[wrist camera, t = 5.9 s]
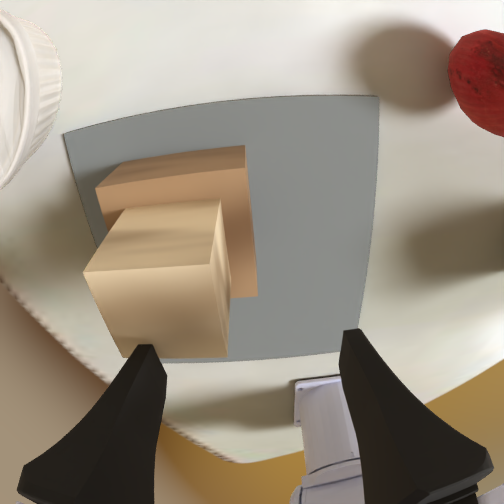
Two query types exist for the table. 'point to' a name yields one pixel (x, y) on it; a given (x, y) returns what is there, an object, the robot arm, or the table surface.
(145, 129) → the mat
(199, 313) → the birch block
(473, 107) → the onion
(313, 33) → the table surface
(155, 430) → the robot arm
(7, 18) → the ramekin
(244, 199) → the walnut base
